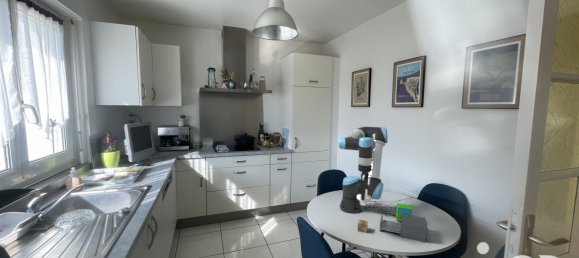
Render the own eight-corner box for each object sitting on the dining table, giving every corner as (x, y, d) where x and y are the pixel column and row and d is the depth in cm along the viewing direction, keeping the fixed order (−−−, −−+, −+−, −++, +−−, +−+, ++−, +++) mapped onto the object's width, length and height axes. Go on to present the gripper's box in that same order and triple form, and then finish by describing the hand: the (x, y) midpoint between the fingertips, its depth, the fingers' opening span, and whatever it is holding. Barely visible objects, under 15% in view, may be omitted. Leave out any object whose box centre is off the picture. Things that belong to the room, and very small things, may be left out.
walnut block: (357, 231, 138) (357, 222, 137) (358, 227, 142) (359, 219, 142) (366, 233, 136) (366, 224, 135) (367, 229, 140) (367, 221, 140)
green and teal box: (409, 215, 159) (410, 201, 158) (413, 224, 146) (413, 209, 145) (393, 213, 162) (394, 199, 161) (395, 221, 149) (396, 206, 149)
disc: (355, 200, 135) (355, 197, 135) (357, 195, 142) (357, 193, 142) (370, 202, 132) (370, 200, 132) (371, 197, 139) (371, 195, 139)
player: (400, 237, 132) (401, 223, 131) (400, 225, 144) (401, 213, 144) (427, 242, 126) (428, 228, 125) (424, 230, 139) (425, 217, 138)
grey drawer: (379, 230, 137) (379, 223, 137) (380, 222, 148) (381, 215, 147) (403, 235, 132) (403, 228, 132) (403, 226, 143) (403, 219, 142)
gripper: (369, 169, 124) (368, 210, 126) (373, 161, 143) (372, 197, 145) (355, 167, 128) (354, 207, 130) (361, 160, 146) (359, 195, 148)
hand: (363, 202), depth 137 cm, fingers closed on disc, 8 cm apart
